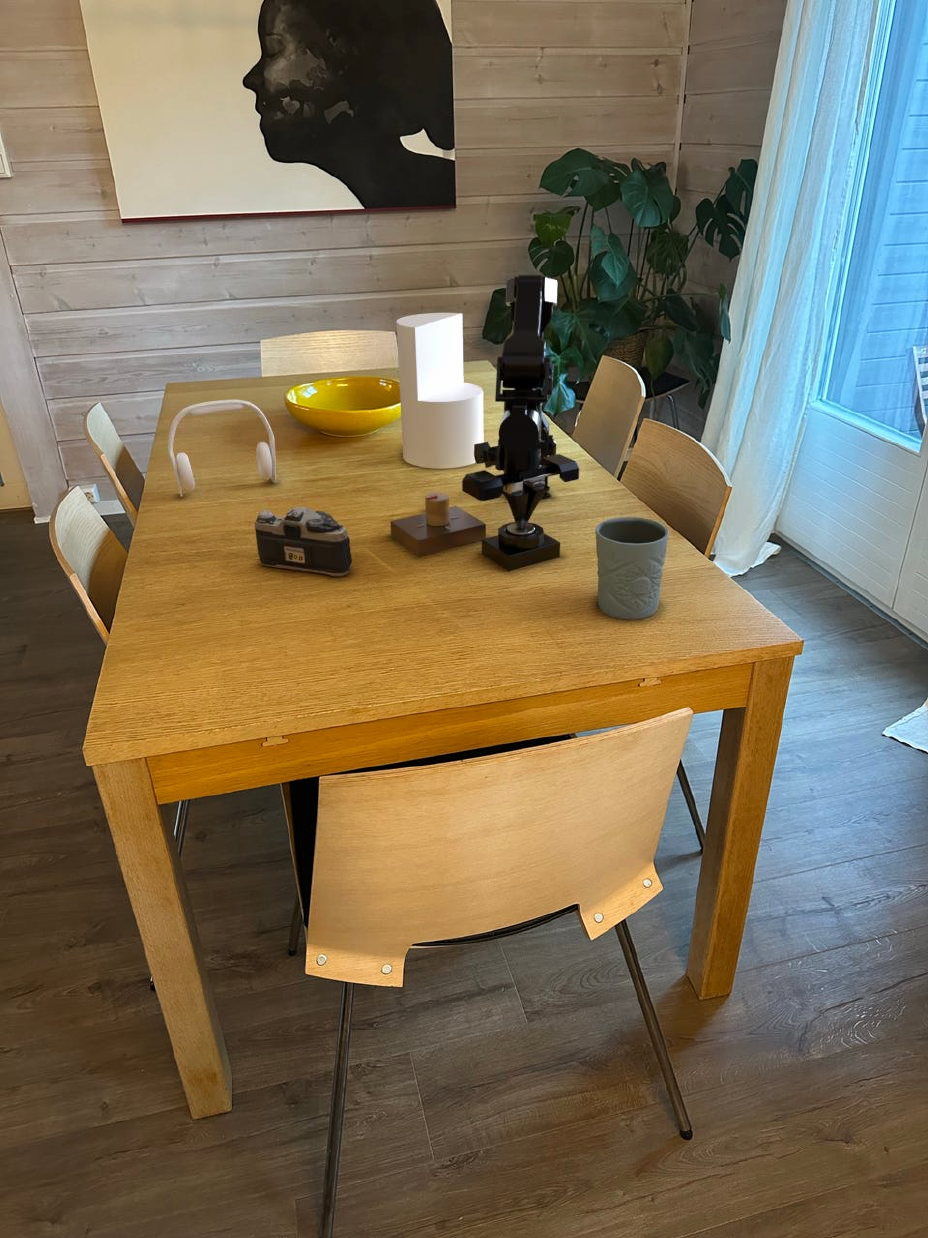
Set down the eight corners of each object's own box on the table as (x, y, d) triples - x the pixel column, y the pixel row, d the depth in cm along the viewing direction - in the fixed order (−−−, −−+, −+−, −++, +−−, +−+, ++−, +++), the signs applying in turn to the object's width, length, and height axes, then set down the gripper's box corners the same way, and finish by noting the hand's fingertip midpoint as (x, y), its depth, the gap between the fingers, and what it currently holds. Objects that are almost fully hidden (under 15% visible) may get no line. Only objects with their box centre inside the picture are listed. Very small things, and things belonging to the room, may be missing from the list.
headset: (178, 504, 170) (161, 411, 162) (174, 492, 176) (158, 402, 167) (283, 489, 177) (272, 399, 168) (276, 478, 182) (265, 390, 174)
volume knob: (440, 515, 155) (440, 489, 153) (454, 522, 152) (453, 495, 150) (421, 521, 153) (420, 494, 151) (434, 528, 150) (433, 501, 148)
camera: (370, 555, 148) (366, 497, 144) (342, 581, 140) (337, 521, 135) (285, 543, 153) (278, 487, 148) (253, 568, 145) (245, 509, 140)
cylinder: (386, 460, 191) (378, 323, 178) (432, 439, 204) (427, 310, 191) (455, 473, 183) (452, 331, 170) (498, 450, 196) (498, 316, 183)
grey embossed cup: (645, 628, 125) (652, 549, 120) (579, 611, 130) (583, 534, 124) (671, 599, 133) (679, 524, 127) (608, 584, 138) (613, 510, 132)
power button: (524, 530, 148) (524, 520, 148) (539, 539, 145) (540, 529, 144) (501, 536, 147) (502, 526, 146) (517, 545, 143) (517, 535, 142)
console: (456, 521, 161) (455, 504, 159) (486, 540, 153) (486, 522, 152) (391, 537, 155) (390, 519, 154) (418, 557, 147) (418, 539, 146)
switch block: (531, 541, 153) (532, 516, 150) (559, 557, 147) (560, 531, 144) (481, 554, 148) (481, 528, 146) (508, 571, 142) (508, 545, 140)
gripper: (541, 411, 148) (539, 501, 155) (443, 429, 140) (445, 523, 147) (583, 427, 139) (579, 521, 147) (481, 448, 131) (481, 547, 139)
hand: (520, 527), depth 145 cm, fingers closed, pressing on power button
